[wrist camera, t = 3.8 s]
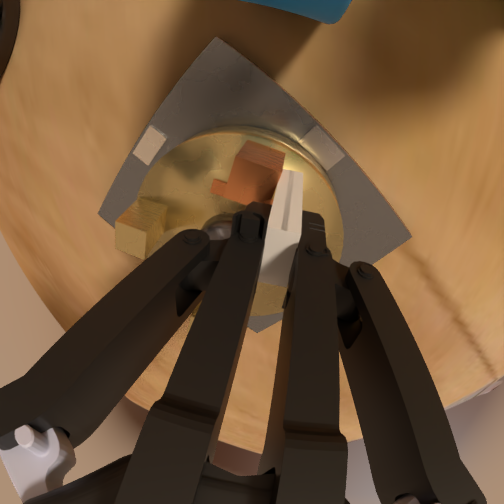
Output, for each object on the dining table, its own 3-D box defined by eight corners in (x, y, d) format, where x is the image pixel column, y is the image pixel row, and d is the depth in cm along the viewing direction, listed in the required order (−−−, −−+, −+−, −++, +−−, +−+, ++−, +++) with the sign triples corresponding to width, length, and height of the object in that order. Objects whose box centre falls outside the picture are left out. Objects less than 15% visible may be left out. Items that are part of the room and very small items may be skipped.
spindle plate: (102, 208, 26) (96, 214, 25) (219, 37, 15) (215, 36, 14) (258, 326, 33) (256, 334, 32) (408, 230, 22) (412, 238, 21)
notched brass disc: (145, 260, 27) (115, 305, 22) (168, 101, 18) (118, 118, 12) (292, 311, 28) (287, 365, 23) (374, 174, 19) (400, 218, 13)
